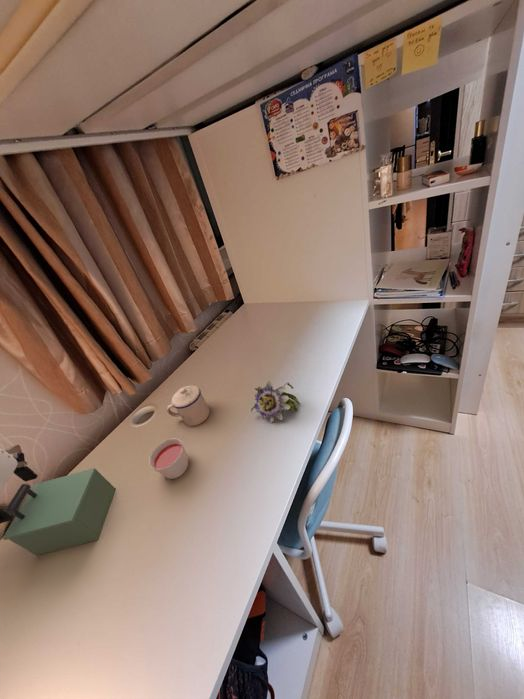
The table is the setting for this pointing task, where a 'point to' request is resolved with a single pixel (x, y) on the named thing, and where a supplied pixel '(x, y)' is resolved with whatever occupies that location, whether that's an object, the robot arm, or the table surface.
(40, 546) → the green box
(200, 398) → the teacup with lid
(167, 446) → the candle
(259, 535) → the table surface
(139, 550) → the table surface
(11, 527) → the lid
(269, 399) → the passion flower
